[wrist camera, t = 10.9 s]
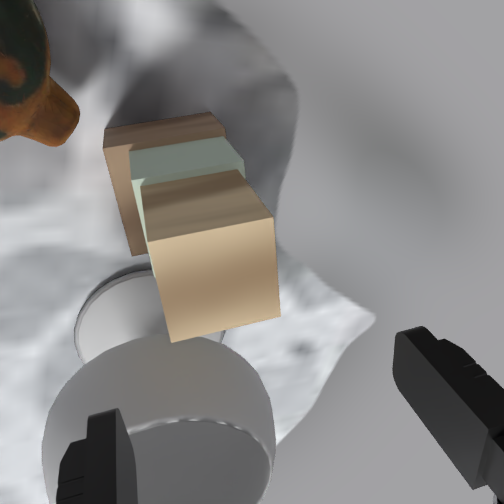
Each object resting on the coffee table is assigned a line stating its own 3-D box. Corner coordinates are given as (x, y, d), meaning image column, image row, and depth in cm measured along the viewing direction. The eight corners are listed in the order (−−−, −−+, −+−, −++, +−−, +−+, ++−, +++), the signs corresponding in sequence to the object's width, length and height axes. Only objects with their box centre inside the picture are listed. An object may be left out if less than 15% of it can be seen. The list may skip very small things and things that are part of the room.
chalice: (160, 221, 33) (187, 355, 20) (265, 326, 40) (333, 474, 28) (20, 334, 34) (-36, 527, 22) (146, 416, 42) (159, 597, 29)
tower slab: (104, 128, 29) (102, 148, 25) (209, 111, 30) (224, 127, 26) (130, 224, 33) (132, 256, 28) (223, 205, 34) (238, 233, 30)
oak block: (139, 186, 21) (147, 242, 16) (237, 169, 22) (273, 217, 17) (159, 271, 24) (171, 343, 19) (246, 252, 25) (280, 316, 20)
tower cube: (128, 151, 25) (131, 180, 21) (223, 136, 26) (243, 160, 22) (148, 236, 28) (154, 277, 24) (233, 220, 29) (253, 256, 25)
